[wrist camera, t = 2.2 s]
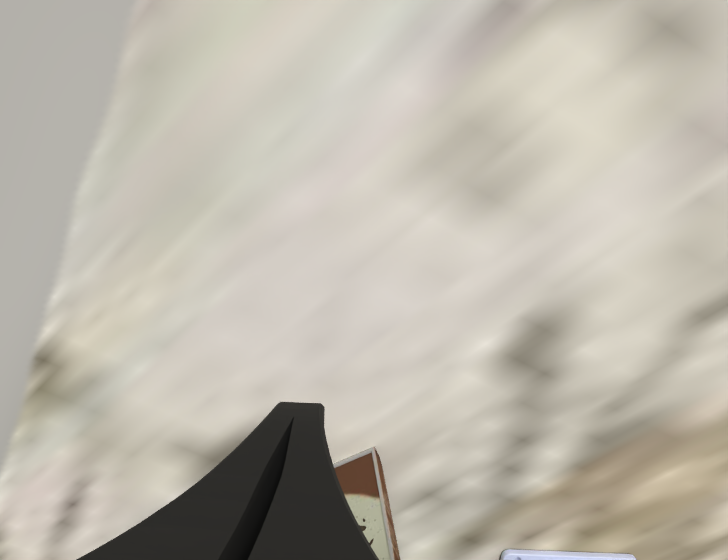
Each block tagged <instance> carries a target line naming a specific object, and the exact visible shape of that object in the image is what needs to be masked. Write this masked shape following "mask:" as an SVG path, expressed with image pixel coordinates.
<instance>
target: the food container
mask: <svg viewBox="0 0 728 560" xmlns="http://www.w3.org/2000/svg"><path fill="white" fill-rule="evenodd" d="M333 466H334V469H335V472H336V475H337V478H338V480H339V483H340V486H341V488H342V491H343V493H344V495H345V498H346V500H347V502H348V504H349V506H350V508H351V511H352V513H353V515H354V517H355V519H356V521H357V523H358V524H359V526H360V528H361V530H362V531H363V533H364V535H365V537H366V539H367V540H368V542H369V544H370V546H371V547H372V549H373V551H374V552H375V554H376V556H377V557H378V559H379V560H400V556H399V550H398V545H397V540H396V535H395V530H394V525H393V520H392V515H391V510H390V504H389V499H388V494H387V489H386V484H385V479H384V474H383V469H382V464H381V461H380V457H379V455H378V453H377V451H376V449H375V447H372V448H370V449H367V450H365V451H363V452H360V453H358V454H356V455H353V456H351V457H349V458H346V459H344V460H342V461H339V462H337V463H334V464H333Z"/></svg>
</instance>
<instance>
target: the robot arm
mask: <svg viewBox="0 0 728 560" xmlns="http://www.w3.org/2000/svg"><path fill="white" fill-rule="evenodd" d="M77 560H379V559H378V557H377V556H376V554H375V552H374V551H373V549H372V547H371V546H370V544H369V542H368V540H367V539H366V537H365V535H364V533H363V531H362V530H361V528H360V526H359V524H358V523H357V521H356V519H355V517H354V515H353V513H352V511H351V508H350V506H349V504H348V502H347V500H346V498H345V495H344V493H343V491H342V488H341V486H340V483H339V480H338V478H337V475H336V472H335V469H334V466H333V463H332V460H331V456H330V453H329V449H328V445H327V441H326V436H325V430H324V406H323V405H322V404H320V403H295V402H280V403H279V404H277V405H276V406H275V408H274V409H273V410H272V411H271V412H270V413H269V414H268V415H267V416H266V418H265V419H264V420H263V421H262V422H261V423H260V424H259V425H258V426H257V427H256V428H255V429H254V431H253V432H252V433H251V434H250V435H249V436H248V437H247V438H246V439H245V440H244V441H243V442H242V443H241V444H240V445H239V446H238V447H237V448H236V449H235V450H234V451H232V452H231V453H230V454H229V455H228V456H227V457H226V458H225V459H224V460H223V461H222V462H220V463H219V464H218V465H217V466H216V467H215V468H214V469H213V470H212V471H210V472H209V473H208V474H207V475H206V476H204V477H203V478H202V479H201V480H200V481H198V482H197V483H196V484H195V485H193V486H192V487H191V488H189V489H188V490H187V491H186V492H184V493H183V494H182V495H180V496H179V497H177V498H176V499H175V500H173V501H172V502H170V503H169V504H167V505H166V506H164V507H163V508H161V509H160V510H158V511H157V512H155V513H154V514H152V515H151V516H149V517H148V518H147V519H145V520H144V521H142V522H141V523H139V524H137V525H136V526H134V527H133V528H131V529H129V530H128V531H126V532H124V533H123V534H121V535H119V536H118V537H116V538H114V539H113V540H111V541H109V542H107V543H106V544H104V545H102V546H100V547H99V548H97V549H95V550H93V551H92V552H90V553H88V554H86V555H84V556H82V557H81V558H79V559H77ZM500 560H636V558H635V557H634V556H633V555H631V554H618V553H592V552H566V551H541V550H515V549H507V550H504V551H503V552H502V554H501V559H500Z"/></svg>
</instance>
